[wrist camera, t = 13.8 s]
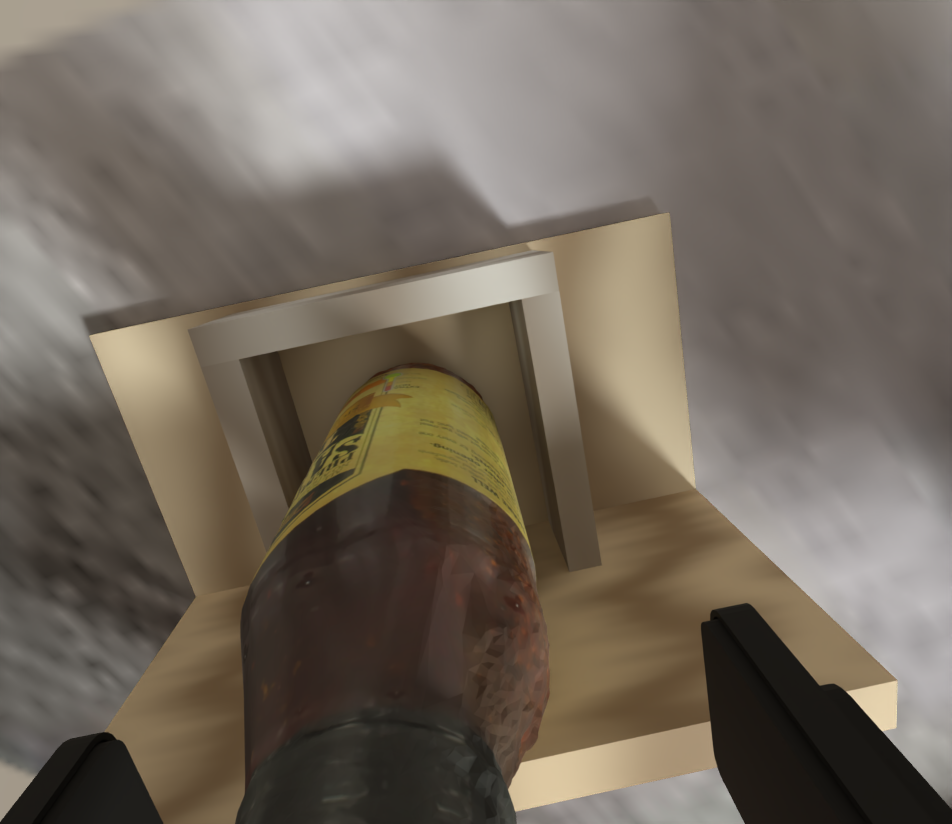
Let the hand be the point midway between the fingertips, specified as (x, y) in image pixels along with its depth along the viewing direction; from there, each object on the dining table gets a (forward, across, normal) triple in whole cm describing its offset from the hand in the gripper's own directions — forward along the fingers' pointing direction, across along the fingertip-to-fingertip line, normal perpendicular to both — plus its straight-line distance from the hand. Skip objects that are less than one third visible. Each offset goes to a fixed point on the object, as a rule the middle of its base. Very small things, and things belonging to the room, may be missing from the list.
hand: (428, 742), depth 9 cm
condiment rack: (+15, +1, 0) cm, 15 cm away
